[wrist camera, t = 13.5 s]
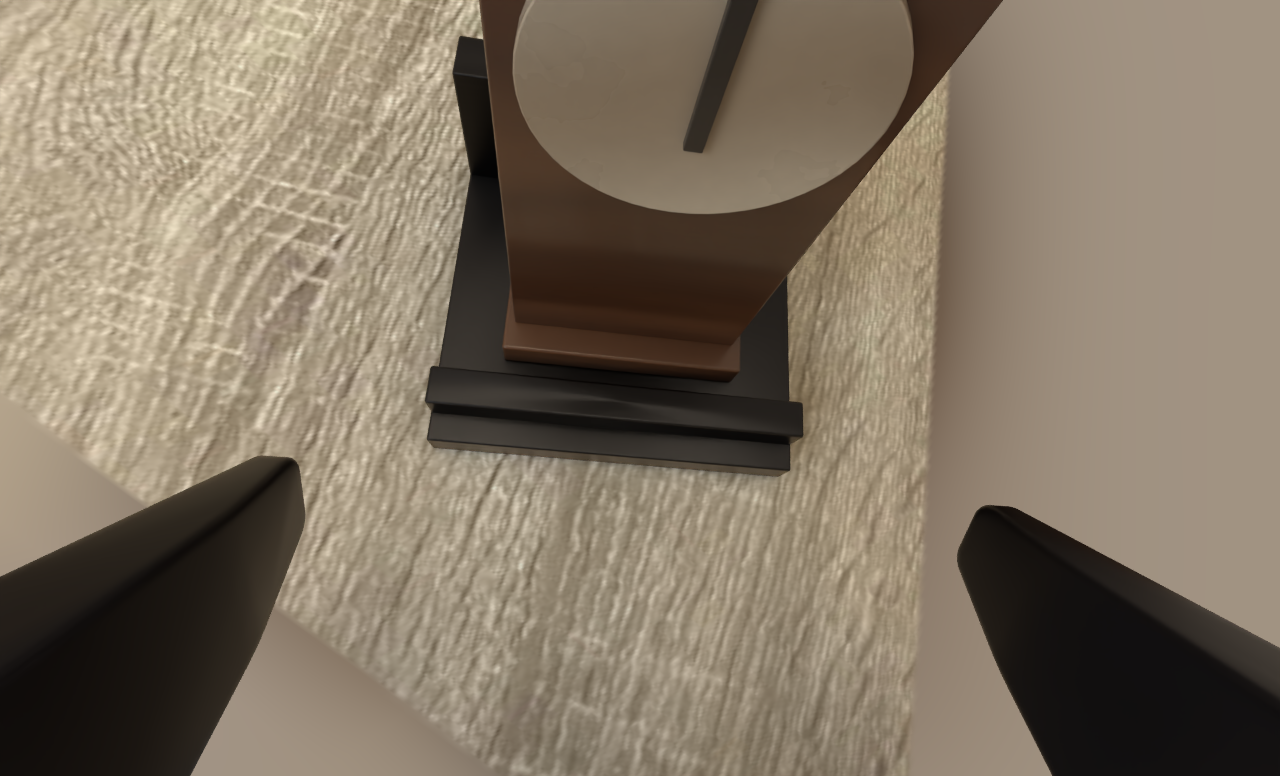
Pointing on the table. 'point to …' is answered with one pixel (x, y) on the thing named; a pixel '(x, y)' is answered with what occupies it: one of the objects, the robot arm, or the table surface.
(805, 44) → the clock
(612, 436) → the clock rack
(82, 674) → the robot arm
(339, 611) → the table surface
